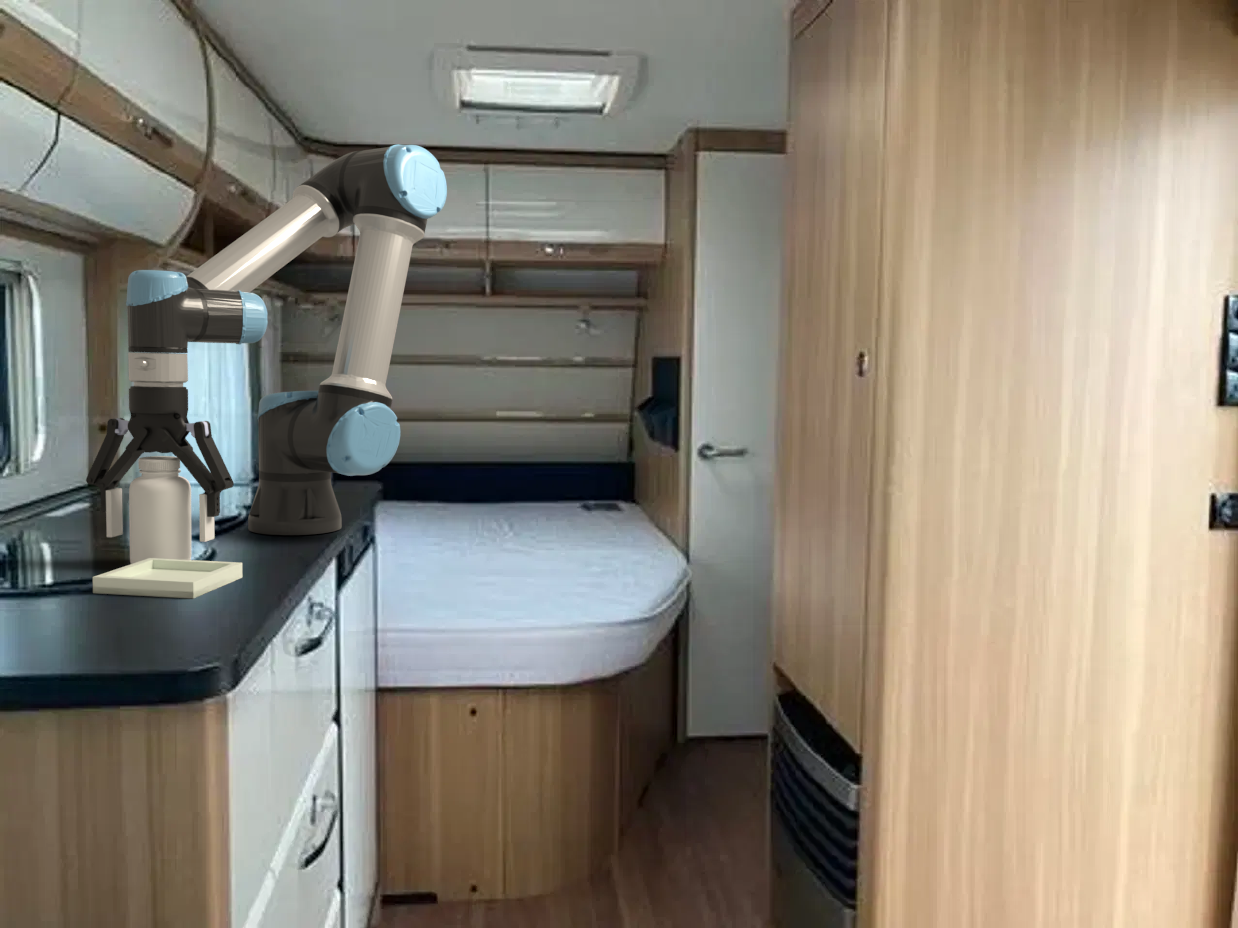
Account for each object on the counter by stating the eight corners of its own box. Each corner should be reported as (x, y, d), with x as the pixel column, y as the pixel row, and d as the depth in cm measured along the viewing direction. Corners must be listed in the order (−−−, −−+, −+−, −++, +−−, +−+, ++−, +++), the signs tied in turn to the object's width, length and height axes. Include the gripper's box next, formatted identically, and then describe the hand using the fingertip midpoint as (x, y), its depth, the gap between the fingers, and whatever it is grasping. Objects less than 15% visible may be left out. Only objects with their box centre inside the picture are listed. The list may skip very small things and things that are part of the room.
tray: (150, 572, 148) (149, 557, 148) (242, 577, 147) (242, 562, 147) (93, 592, 136) (92, 576, 135) (193, 598, 134) (193, 582, 134)
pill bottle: (141, 572, 148) (139, 461, 147) (122, 563, 154) (120, 456, 153) (200, 566, 154) (199, 458, 152) (179, 557, 160) (178, 454, 158)
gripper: (56, 382, 149) (60, 538, 151) (232, 388, 146) (233, 546, 149) (89, 381, 157) (92, 529, 159) (257, 386, 154) (258, 537, 156)
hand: (160, 538), depth 154 cm, fingers open, 13 cm apart
